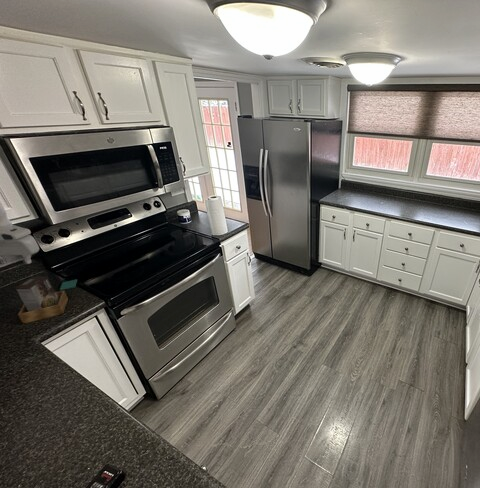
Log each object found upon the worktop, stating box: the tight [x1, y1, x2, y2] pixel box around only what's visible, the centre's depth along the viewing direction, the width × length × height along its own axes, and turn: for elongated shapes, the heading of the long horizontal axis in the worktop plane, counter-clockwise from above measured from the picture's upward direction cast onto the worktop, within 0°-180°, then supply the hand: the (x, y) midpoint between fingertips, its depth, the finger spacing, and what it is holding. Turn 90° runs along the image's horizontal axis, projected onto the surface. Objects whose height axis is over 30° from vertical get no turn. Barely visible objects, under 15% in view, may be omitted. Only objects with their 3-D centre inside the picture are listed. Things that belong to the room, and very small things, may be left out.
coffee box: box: [14, 276, 59, 312], centre depth 120 cm, size 9×6×16 cm
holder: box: [17, 290, 69, 324], centre depth 122 cm, size 13×13×5 cm
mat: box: [59, 279, 78, 291], centre depth 141 cm, size 6×8×1 cm
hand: (15, 263), depth 109 cm, fingers open, 8 cm apart
